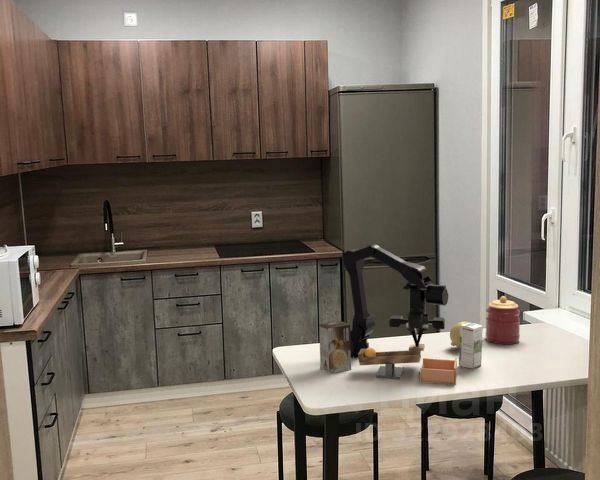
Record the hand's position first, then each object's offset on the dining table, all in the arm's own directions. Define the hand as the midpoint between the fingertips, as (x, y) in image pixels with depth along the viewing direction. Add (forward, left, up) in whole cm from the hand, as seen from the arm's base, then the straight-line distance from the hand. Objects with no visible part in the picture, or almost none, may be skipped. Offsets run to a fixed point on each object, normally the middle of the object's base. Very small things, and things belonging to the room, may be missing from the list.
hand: (417, 346), depth 224 cm
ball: (-15, -11, 0) cm, 18 cm away
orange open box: (+8, -11, -7) cm, 15 cm away
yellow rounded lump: (+16, +24, -7) cm, 30 cm away
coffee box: (-27, -10, -7) cm, 30 cm away
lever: (-8, -6, -2) cm, 10 cm away
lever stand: (-8, -11, -7) cm, 15 cm away
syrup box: (+18, +4, -7) cm, 20 cm away
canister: (+30, +39, -7) cm, 50 cm away
